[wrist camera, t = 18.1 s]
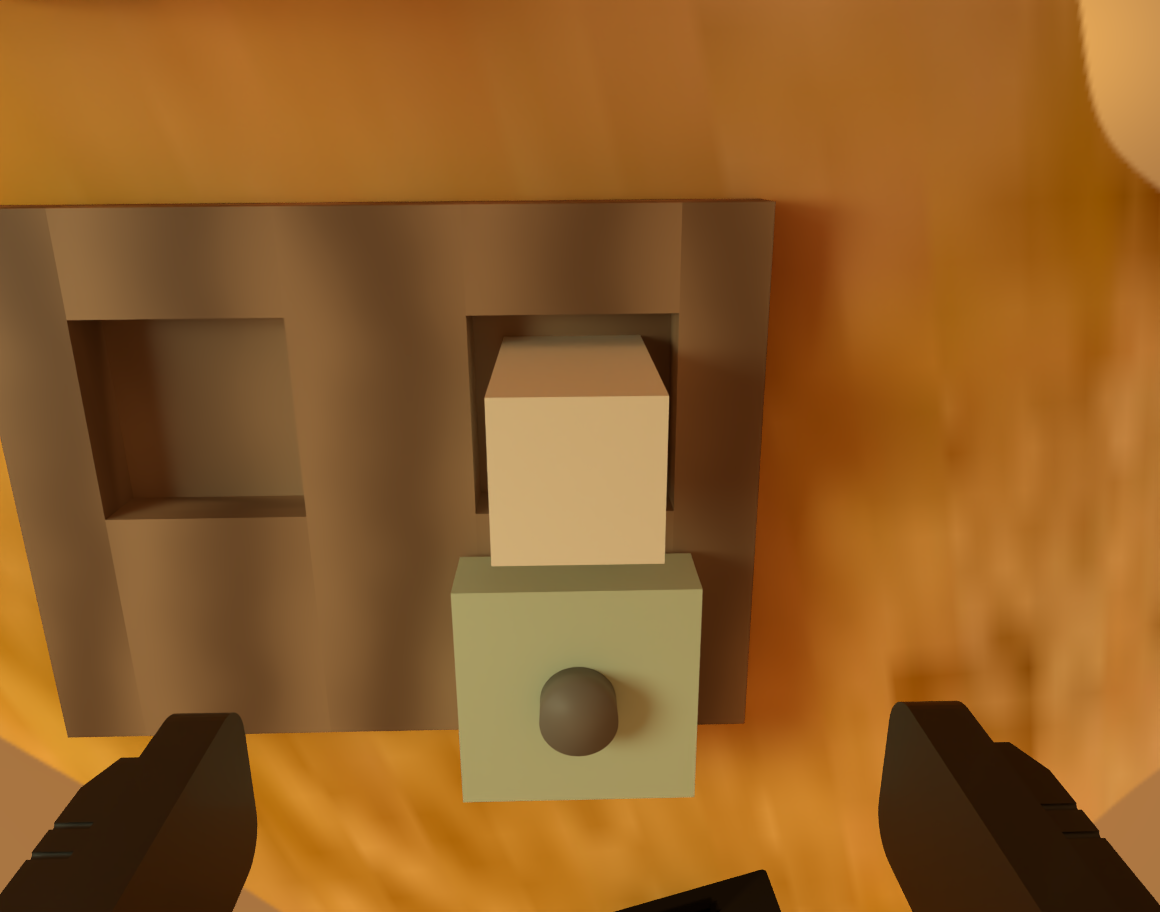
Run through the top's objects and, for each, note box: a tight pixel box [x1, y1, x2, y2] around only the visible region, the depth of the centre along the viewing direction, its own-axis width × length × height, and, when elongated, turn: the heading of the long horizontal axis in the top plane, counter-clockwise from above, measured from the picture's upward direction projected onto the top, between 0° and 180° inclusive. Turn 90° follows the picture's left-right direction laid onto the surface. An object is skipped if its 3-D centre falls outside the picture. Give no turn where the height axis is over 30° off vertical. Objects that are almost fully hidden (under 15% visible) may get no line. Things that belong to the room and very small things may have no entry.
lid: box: [451, 553, 703, 802], centre depth 28 cm, size 8×8×4 cm
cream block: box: [484, 335, 669, 566], centre depth 26 cm, size 4×4×8 cm
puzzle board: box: [0, 199, 776, 737], centre depth 30 cm, size 24×18×2 cm
